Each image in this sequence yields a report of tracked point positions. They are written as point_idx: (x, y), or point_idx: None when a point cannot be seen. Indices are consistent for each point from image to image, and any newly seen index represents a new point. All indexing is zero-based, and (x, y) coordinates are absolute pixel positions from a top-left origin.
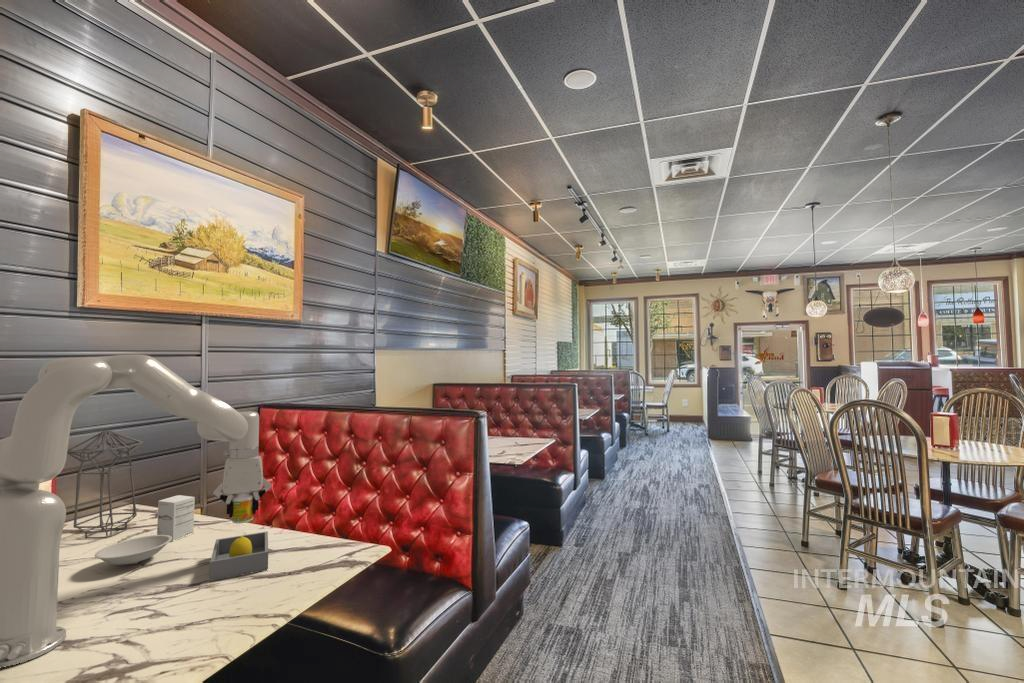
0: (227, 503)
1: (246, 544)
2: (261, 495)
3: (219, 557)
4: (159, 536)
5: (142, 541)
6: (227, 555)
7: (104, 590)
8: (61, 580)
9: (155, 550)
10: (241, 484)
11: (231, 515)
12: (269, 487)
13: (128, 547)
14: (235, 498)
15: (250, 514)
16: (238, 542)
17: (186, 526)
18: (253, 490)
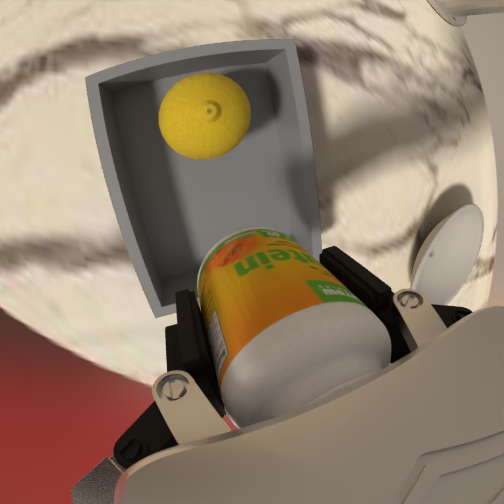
0: (404, 296)
1: (176, 87)
2: (147, 420)
3: (284, 216)
4: None
5: (437, 300)
6: (264, 225)
7: (443, 128)
8: (477, 205)
9: (427, 245)
10: (460, 464)
11: (327, 255)
12: (86, 487)
13: (447, 282)
14: (382, 333)
15: (207, 279)
16: (215, 81)
17: None
18: (218, 450)
